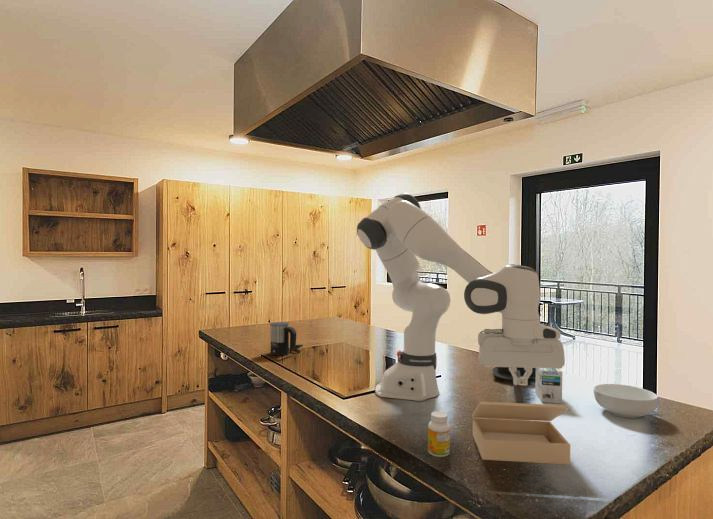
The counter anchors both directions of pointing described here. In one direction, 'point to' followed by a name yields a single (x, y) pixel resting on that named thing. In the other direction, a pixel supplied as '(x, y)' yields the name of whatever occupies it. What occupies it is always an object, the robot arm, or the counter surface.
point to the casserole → (506, 374)
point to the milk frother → (282, 338)
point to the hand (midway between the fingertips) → (520, 384)
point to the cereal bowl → (625, 400)
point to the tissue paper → (514, 437)
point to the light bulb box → (549, 385)
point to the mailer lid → (518, 408)
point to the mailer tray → (521, 450)
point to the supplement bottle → (439, 434)
